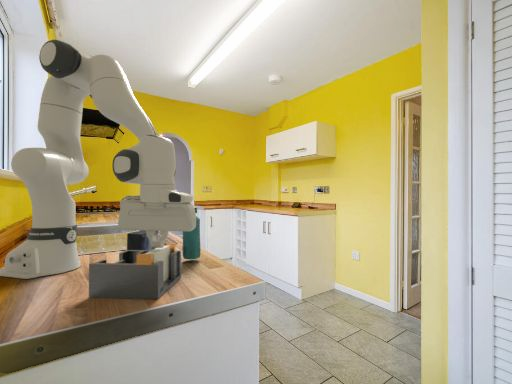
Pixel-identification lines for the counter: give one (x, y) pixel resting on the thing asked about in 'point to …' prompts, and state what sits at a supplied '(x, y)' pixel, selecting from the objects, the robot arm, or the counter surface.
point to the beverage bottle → (192, 242)
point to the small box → (139, 240)
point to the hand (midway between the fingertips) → (157, 247)
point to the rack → (133, 275)
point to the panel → (162, 259)
